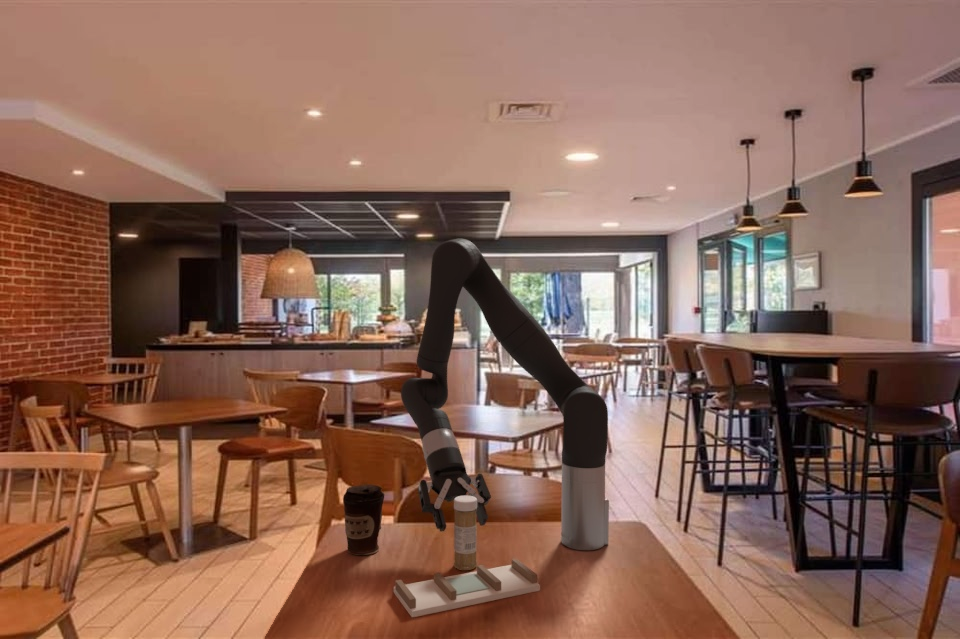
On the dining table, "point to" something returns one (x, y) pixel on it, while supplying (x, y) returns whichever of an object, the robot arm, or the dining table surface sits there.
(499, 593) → the rack
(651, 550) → the dining table surface
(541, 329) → the robot arm
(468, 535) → the sprinkles bottle
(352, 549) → the coffee cup
